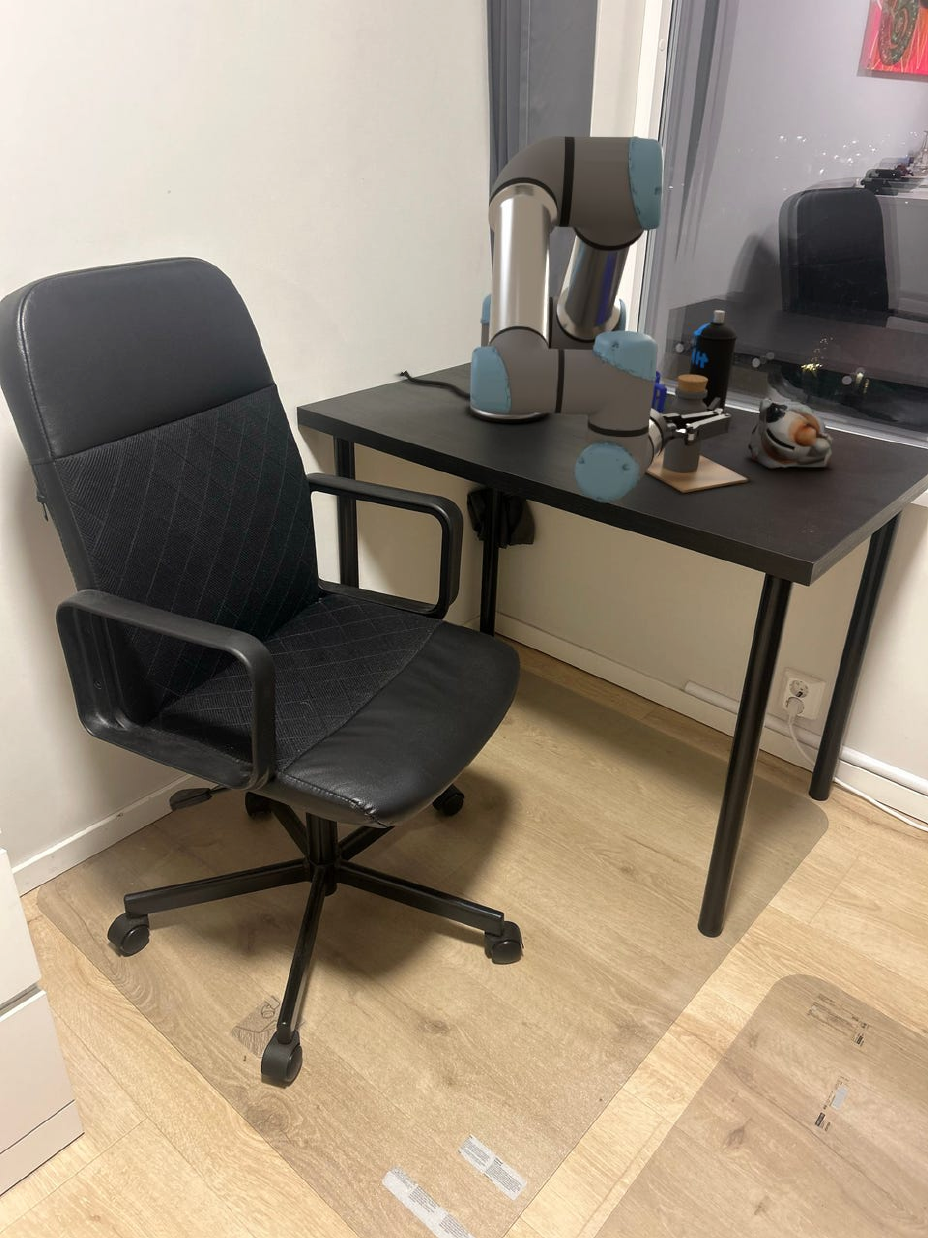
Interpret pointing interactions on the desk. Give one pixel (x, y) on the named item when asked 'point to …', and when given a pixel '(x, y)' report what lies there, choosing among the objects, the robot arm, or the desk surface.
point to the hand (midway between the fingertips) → (672, 400)
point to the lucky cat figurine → (789, 436)
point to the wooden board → (695, 475)
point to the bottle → (687, 403)
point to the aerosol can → (714, 357)
